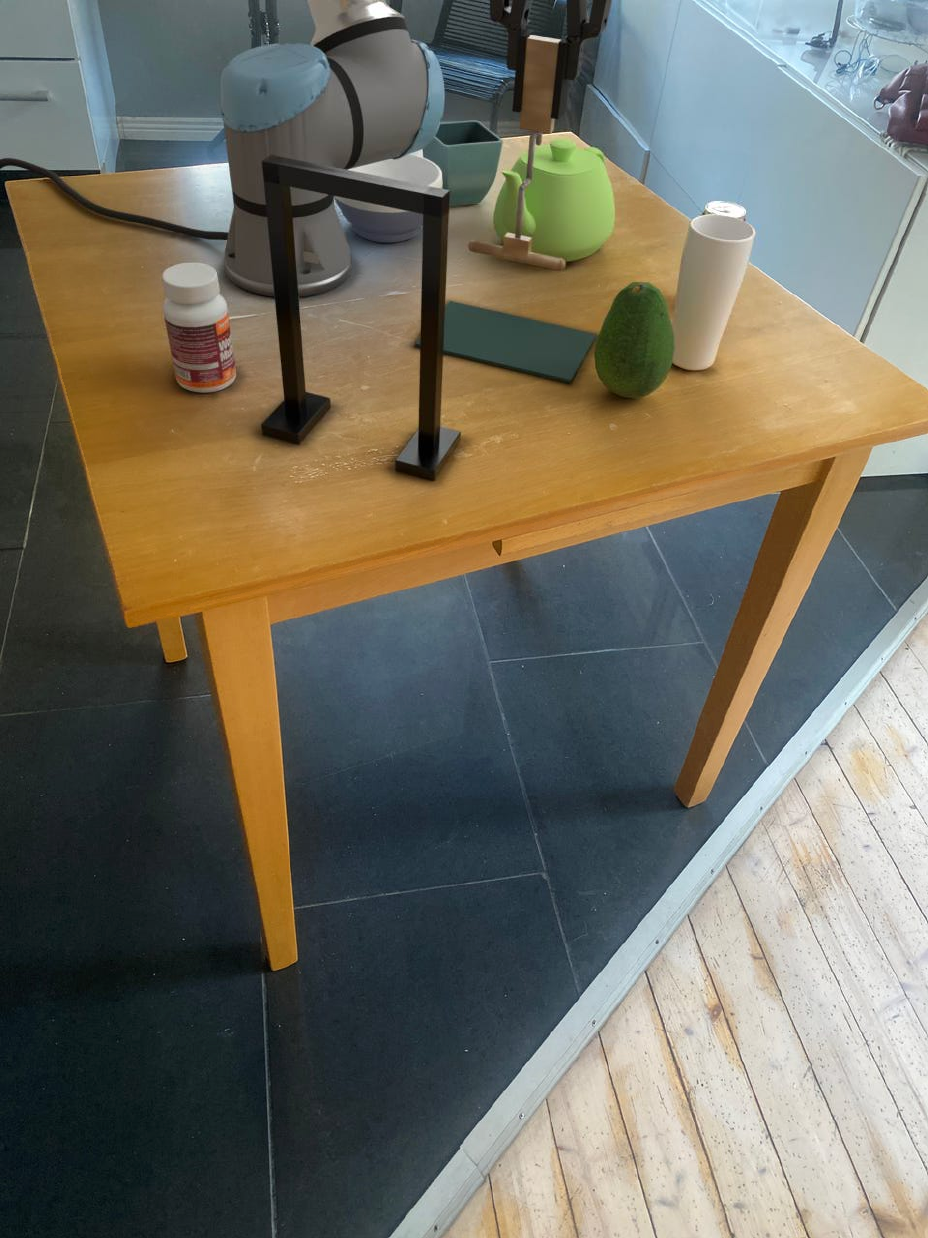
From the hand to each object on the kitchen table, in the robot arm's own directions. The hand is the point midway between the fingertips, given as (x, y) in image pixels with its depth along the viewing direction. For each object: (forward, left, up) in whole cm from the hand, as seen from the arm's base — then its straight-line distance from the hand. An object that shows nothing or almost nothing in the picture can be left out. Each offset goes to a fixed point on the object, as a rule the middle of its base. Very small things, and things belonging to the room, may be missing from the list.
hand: (539, 110), depth 93 cm
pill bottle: (-26, -24, -23) cm, 43 cm away
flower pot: (-19, +32, -23) cm, 44 cm away
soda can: (+19, +15, -23) cm, 33 cm away
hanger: (0, -1, -14) cm, 14 cm away
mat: (0, -3, -23) cm, 23 cm away
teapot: (-3, +22, -23) cm, 32 cm away
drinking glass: (+20, +2, -23) cm, 31 cm away
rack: (-7, -27, -23) cm, 37 cm away
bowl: (-24, +18, -23) cm, 38 cm away
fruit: (+15, -8, -23) cm, 29 cm away
